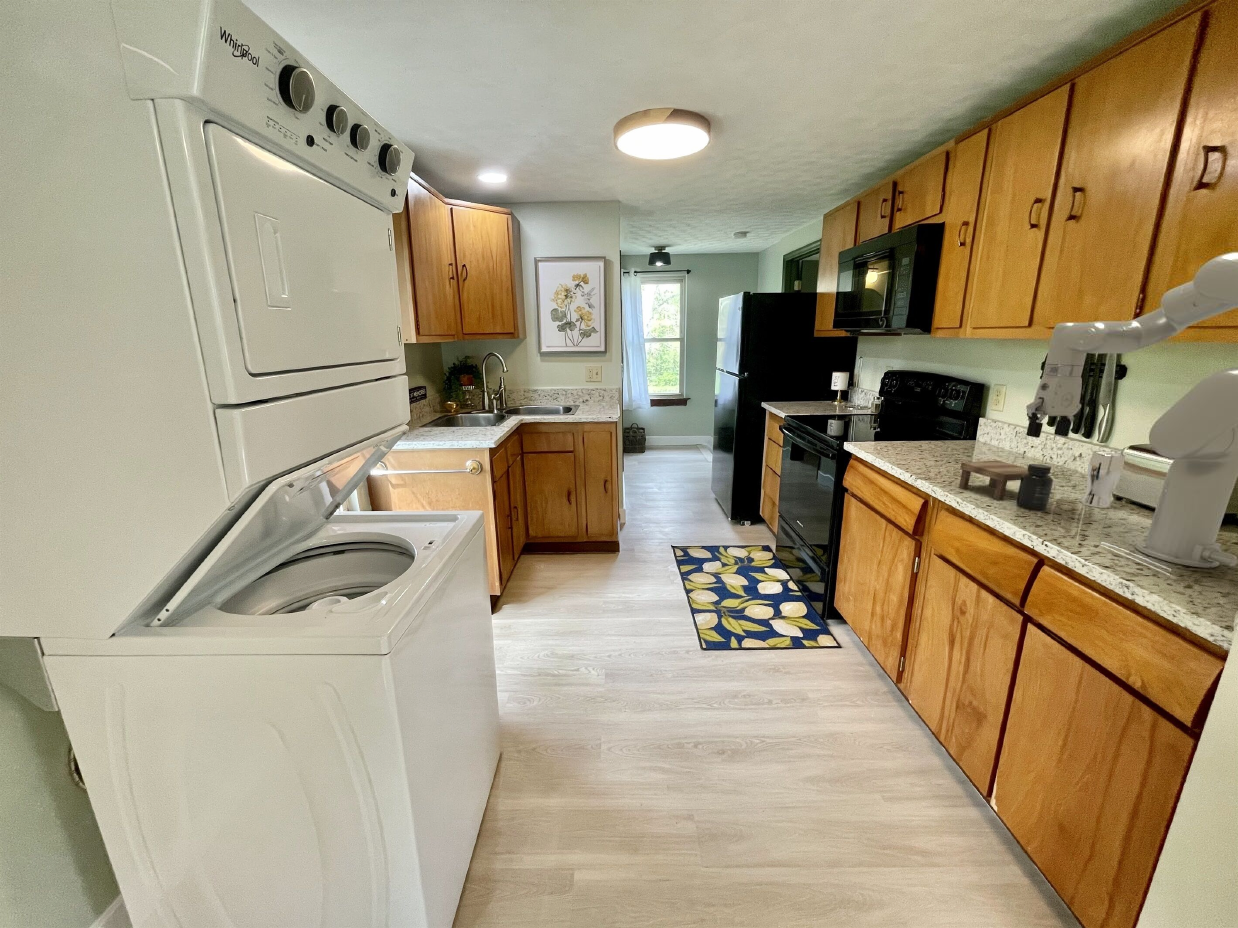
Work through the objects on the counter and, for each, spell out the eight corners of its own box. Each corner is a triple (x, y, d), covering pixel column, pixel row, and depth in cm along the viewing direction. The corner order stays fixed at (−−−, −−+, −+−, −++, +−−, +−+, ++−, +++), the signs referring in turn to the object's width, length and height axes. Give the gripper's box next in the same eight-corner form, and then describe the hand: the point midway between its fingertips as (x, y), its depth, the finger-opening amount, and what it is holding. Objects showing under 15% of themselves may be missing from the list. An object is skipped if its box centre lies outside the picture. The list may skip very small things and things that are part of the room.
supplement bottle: (1047, 507, 140) (1057, 465, 137) (1045, 513, 135) (1056, 470, 132) (1016, 501, 144) (1025, 461, 141) (1013, 507, 139) (1023, 465, 136)
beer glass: (1119, 508, 139) (1134, 456, 135) (1093, 508, 139) (1108, 456, 135) (1096, 500, 146) (1110, 450, 142) (1072, 500, 146) (1085, 450, 142)
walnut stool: (1036, 498, 147) (1042, 472, 145) (998, 501, 144) (1004, 474, 142) (992, 484, 161) (997, 460, 159) (956, 487, 157) (961, 462, 155)
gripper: (1051, 373, 125) (1036, 440, 129) (1103, 372, 129) (1086, 437, 133) (1022, 370, 132) (1007, 434, 136) (1072, 370, 136) (1056, 432, 140)
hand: (1046, 436), depth 134 cm, fingers open, 9 cm apart
